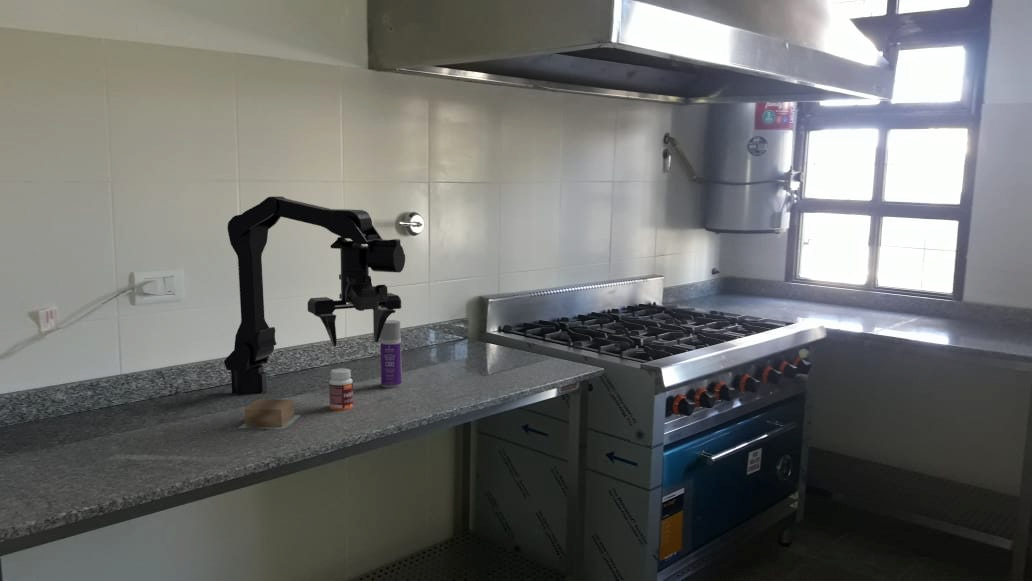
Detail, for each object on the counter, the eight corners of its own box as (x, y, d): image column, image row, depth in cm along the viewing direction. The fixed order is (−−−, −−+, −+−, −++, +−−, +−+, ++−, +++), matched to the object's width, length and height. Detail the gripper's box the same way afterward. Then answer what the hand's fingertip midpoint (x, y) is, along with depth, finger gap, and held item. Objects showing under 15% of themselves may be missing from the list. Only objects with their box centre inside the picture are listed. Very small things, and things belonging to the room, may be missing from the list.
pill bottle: (347, 413, 161) (346, 373, 160) (326, 412, 162) (324, 372, 161) (357, 407, 166) (356, 368, 165) (335, 406, 167) (334, 367, 166)
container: (384, 388, 181) (383, 324, 179) (378, 384, 185) (377, 320, 183) (404, 386, 183) (403, 322, 182) (397, 381, 188) (396, 319, 186)
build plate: (232, 432, 149) (232, 428, 149) (256, 413, 161) (256, 410, 161) (321, 433, 148) (321, 430, 148) (338, 415, 160) (338, 412, 160)
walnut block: (245, 426, 150) (244, 408, 150) (259, 415, 157) (258, 399, 157) (281, 427, 150) (281, 409, 149) (294, 416, 157) (293, 399, 156)
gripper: (323, 276, 154) (324, 355, 156) (411, 272, 163) (412, 346, 165) (306, 271, 163) (307, 345, 165) (390, 267, 173) (391, 337, 175)
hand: (355, 344), depth 167 cm, fingers open, 9 cm apart
